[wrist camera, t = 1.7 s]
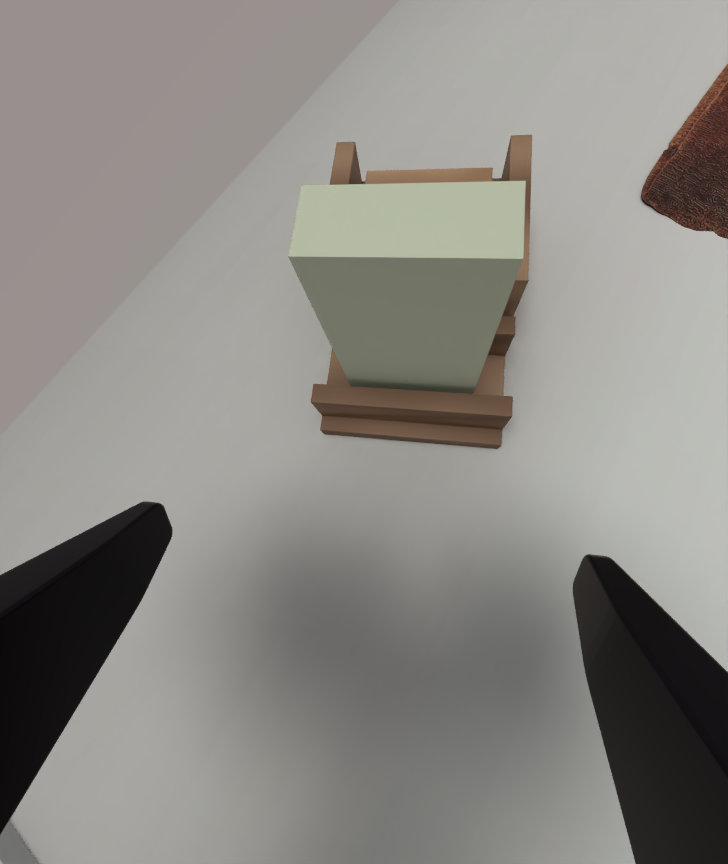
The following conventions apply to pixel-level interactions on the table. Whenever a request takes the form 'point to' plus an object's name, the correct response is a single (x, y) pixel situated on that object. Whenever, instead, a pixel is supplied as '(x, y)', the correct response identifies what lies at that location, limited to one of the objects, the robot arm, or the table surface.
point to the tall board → (410, 276)
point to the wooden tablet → (696, 167)
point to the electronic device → (14, 848)
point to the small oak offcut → (429, 176)
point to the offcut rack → (425, 410)
